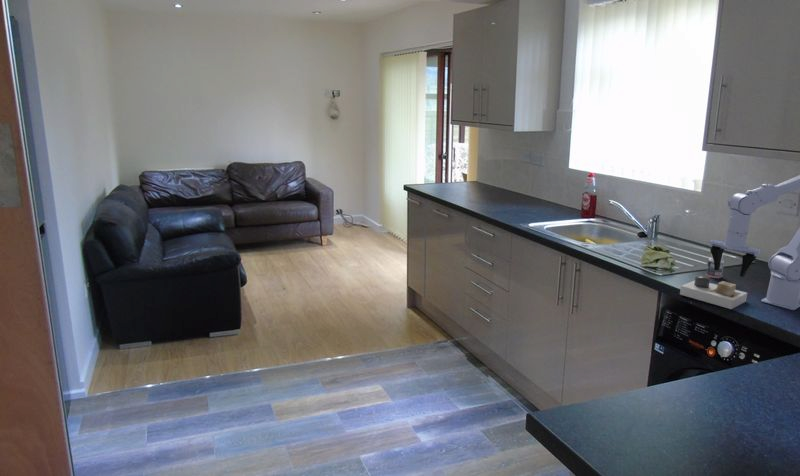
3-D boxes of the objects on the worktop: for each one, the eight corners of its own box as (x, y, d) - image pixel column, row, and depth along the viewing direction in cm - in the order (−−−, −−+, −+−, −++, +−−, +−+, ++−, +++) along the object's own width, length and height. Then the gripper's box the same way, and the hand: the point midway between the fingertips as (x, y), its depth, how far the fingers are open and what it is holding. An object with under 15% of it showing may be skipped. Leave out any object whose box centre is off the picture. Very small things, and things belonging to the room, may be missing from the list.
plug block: (732, 301, 184) (736, 284, 183) (727, 304, 182) (731, 286, 180) (719, 298, 187) (723, 281, 186) (714, 300, 185) (717, 283, 183)
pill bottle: (707, 273, 215) (711, 250, 212) (722, 276, 211) (727, 253, 209) (704, 276, 211) (708, 253, 208) (719, 279, 207) (724, 256, 205)
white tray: (745, 301, 185) (749, 284, 184) (731, 309, 178) (734, 291, 176) (695, 287, 197) (698, 271, 195) (679, 294, 189) (682, 277, 188)
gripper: (707, 228, 182) (700, 269, 185) (758, 238, 171) (749, 281, 174) (717, 225, 186) (709, 265, 189) (766, 235, 175) (757, 277, 179)
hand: (729, 272), depth 182 cm, fingers open, 7 cm apart
